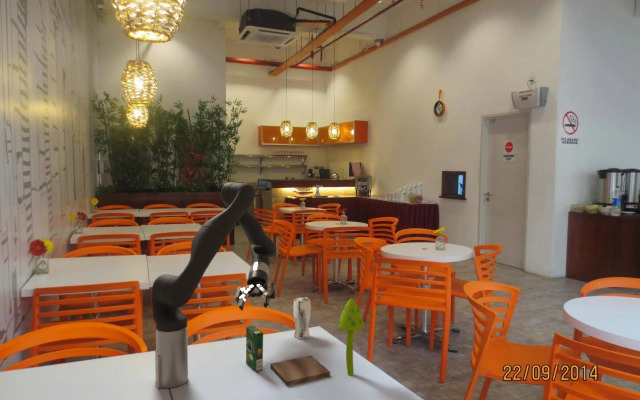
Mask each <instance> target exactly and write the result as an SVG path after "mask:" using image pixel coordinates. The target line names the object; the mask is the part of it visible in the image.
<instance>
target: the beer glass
mask: <svg viewBox="0 0 640 400" xmlns="http://www.w3.org/2000/svg"><path fill="white" fill-rule="evenodd" d="M292 309H293V310H292V311H293V314H292V315H293V321H294V325H295V328H294V336H293V337H294V338H295V339H297V338H298V339H297V340H306V339H305V338H307V339H309V338H310V335H311V334H310V331H309V327H310V326H309V325H310V319H311V313H312V306H311V299H310V298H309V297H306V296H303V297H302V296H299V297H295V298H293V307H292ZM308 337H309V338H308Z"/></svg>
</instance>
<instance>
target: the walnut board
mask: <svg viewBox="0 0 640 400" xmlns="http://www.w3.org/2000/svg"><path fill="white" fill-rule="evenodd" d="M269 365H270V366H269V367H270V369H271V370H272V372H273V374H275V375H276V376H277V377H278V378H279V379H280V380H281V382H282V383H284V385H285V386H286V387H290V386H295V385H299V384H302V383H307V382H312V381H317V380H318V379H319V380H320V379H323V378H329V377H331V371H330V370H329V369H328V368H327V367H325V366H324V365H323V364H322V363H320V362H319V361H318V360H317V359H316V358H315V357H313V355H305V356H300V357H296V358H291V359H287V360H286V359H285V360H281V361H276V362H272V363H270V364H269Z"/></svg>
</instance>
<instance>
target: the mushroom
mask: <svg viewBox="0 0 640 400" xmlns="http://www.w3.org/2000/svg"><path fill="white" fill-rule="evenodd" d="M337 326H338V328H339V329H340V330H343V331H347V339H346V345H345V346H346V347H345V360H346V361H345V362H346V372H347V375H348V376H349V377H352V376H354V336H355V332H357V331H361V330H363V329H364V328H365V322H364V320H363V316H362V314H361V311H360V308H359V306H358V304H357V303H356V301H355V300H354V299H353V298H350V299H349V300H348V301H347V303H346V304H345V306H344V308H343V310H342V312H341V314H340V318H339V320H338V324H337Z"/></svg>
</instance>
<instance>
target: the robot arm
mask: <svg viewBox="0 0 640 400" xmlns="http://www.w3.org/2000/svg"><path fill="white" fill-rule="evenodd" d="M220 191H221V192H220V198H221V201H222V203H223V205H224V206H225V207H226V209H224V210H223V211H221V212H220V213H218V214H217V215H214V216H213V217H211V218H210V219H208V220H207V221H206V222H204V224H202V225H201V226H200V228H199V229H198V231H197V232H196V234H195V235H194V236H193V238H192V240H191V245H190V258H189V261H188V263H187V265H186V266H185V268H184V269H183V271H181V273H180V274H179V275H174V274H169V273H167V274H161V275H159V276H158V277H156V279H155V280H154V282H153V284H152V288H151V309H152V318H153V322H154V323H155V347H156V348H155V352H154V356H155V357H154V362H155V366H154V367H155V382H156V383H155V384H156V386H157V389H161V388H162V389H163V388H164V389H165V388H167V389H169V388H171V389H172V388H177V387H181V386H182V385H184V384H186V383H187V382H188V380H189V368H188V367H189V366H188V365H189V362H188V361H189V355H188V354H189V353H188V351H189V349H188V347H189V345H188V342H189V341H188V339H189V338H188V317H187V316H186V314H185V313H183V312H182V311H181V310H180V308H182V307H184V306H186V304H187V303H189V302H190V300H192V297H193V295H194V294H195V291H196V290H197V288H198V285H199V284H200V282H201V280H202V278H203V276H204V274H205V272H206V271H207V269H208V267H209V266H210V264H211V263H212V261H213V259H214V258H215V256H216V255H217V253H218V252H219V251H220V249H221V248H222V246H223V244H224V243H225V242H226V239H227V238H228V237H229V235H230V234H231V232H232V230H233V229H234V228H235V226H236V225H237V224H238V225H240V227H241V228H242V230H243V232H244V234H245V235H246V238H247V239H248V242H249V243H250V248H249V251H250V256H251V264H250V265H251V266H250V269H249V272H248V278H247V282H246V285H245V287H242V286H238V287H237V288H236V292H235V294H234V295H235V296H234V298H235V302H236V303H237V304H238V305H237V306H238V308H239V310H240V311H244V307H245V302H246V301H249V300H250V299H251V298H257V297H258V298H259V297H262V298H263V307H264V309H265V308H267V307H268V306H269V304H270V301H271V299H275V298H276V287H275V283H274V282H271V283H270V284H268V283H269V276H270V271H269V269H270V258H272V257H274V256H275V254H276V253H277V247H276V244H275V242H274V240H272V239H271V238H270V237H269V236H268V235H267V234H266V232H265V230H264V229H263V226H262V224H261V222H260V221H259V219H258V218H256V217H255V216H254V215H253V214H252V213H251V212H250V211H249V209H250V208H251V206H252V205H253V202H254V200H255V197H256V191H255V188H254V186H253V185H252V184H249V183H245V182H235V181H232V182H229V181H228V182H226V183H224V185H223V186H222V187H221V190H220ZM268 290H270V291H269V293H268Z"/></svg>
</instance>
